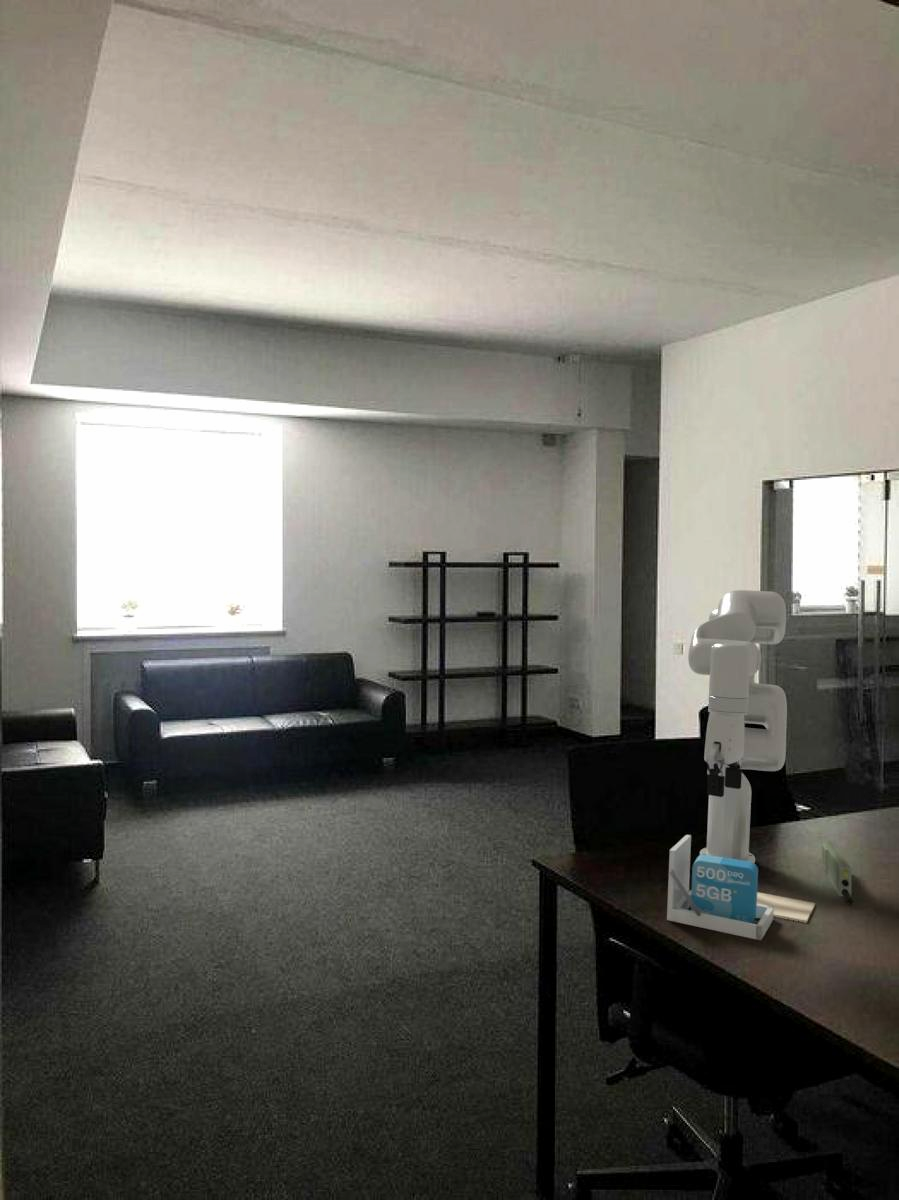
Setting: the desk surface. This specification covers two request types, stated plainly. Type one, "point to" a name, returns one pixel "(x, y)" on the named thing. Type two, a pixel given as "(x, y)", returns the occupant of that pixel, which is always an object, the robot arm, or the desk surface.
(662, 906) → the desk surface
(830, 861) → the handheld radio
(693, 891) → the data package
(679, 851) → the stand
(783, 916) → the birch board
